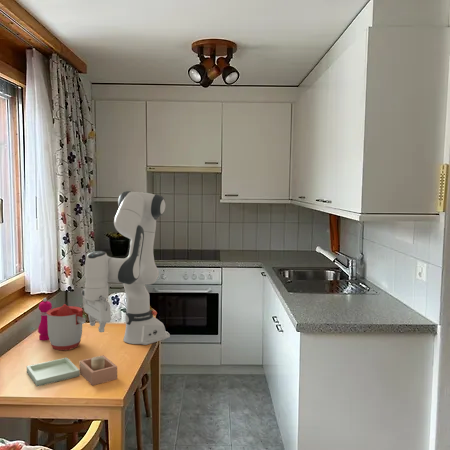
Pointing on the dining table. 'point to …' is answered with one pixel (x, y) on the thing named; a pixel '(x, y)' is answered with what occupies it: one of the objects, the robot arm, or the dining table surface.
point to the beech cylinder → (97, 363)
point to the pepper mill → (44, 319)
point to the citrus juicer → (65, 327)
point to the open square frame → (98, 371)
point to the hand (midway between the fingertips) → (96, 328)
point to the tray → (52, 371)
